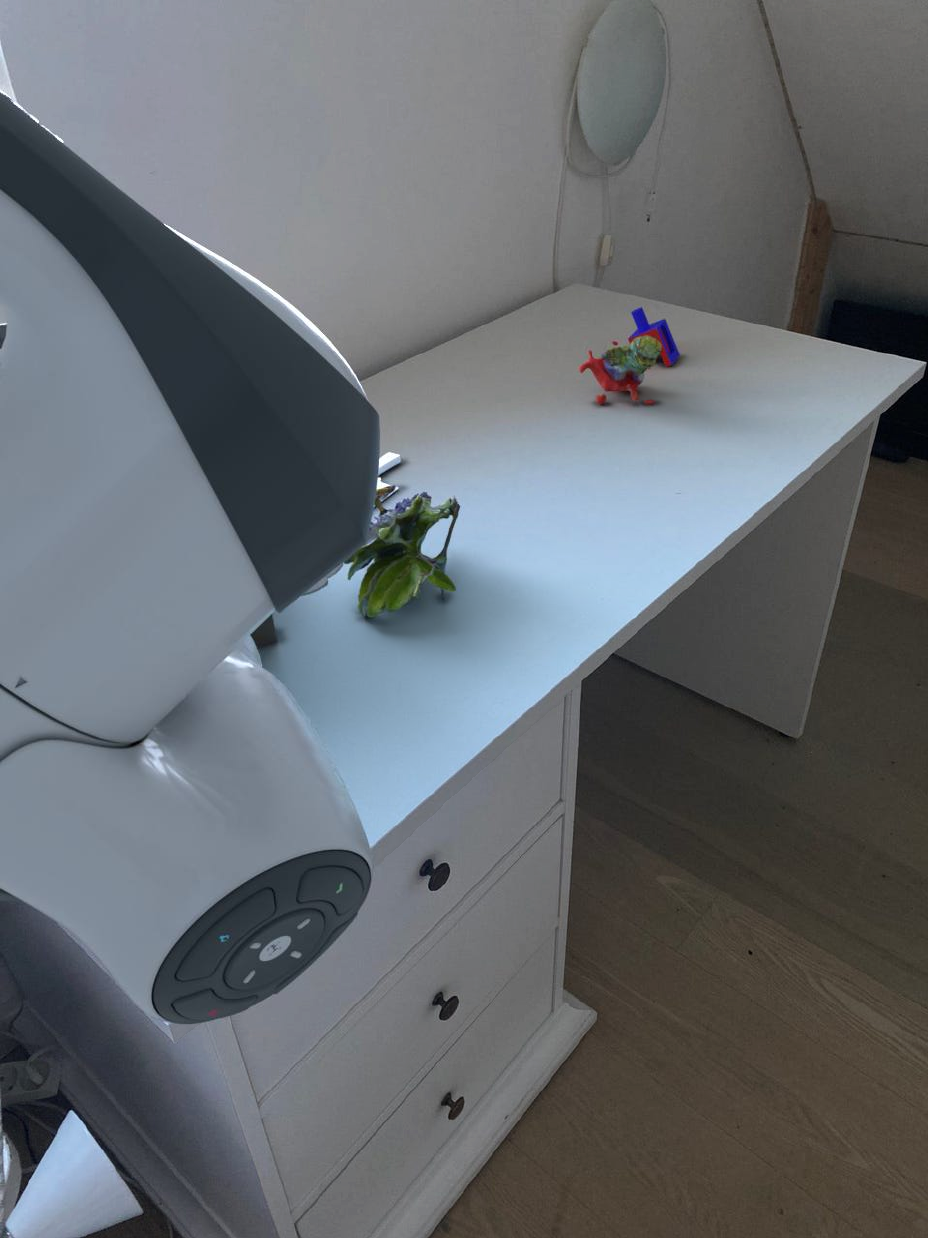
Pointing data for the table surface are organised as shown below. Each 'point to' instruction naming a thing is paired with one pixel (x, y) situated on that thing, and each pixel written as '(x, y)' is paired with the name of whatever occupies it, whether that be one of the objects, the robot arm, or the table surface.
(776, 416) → the table surface
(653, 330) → the blue and red dreidel
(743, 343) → the table surface
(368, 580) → the passion flower
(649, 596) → the table surface
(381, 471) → the white plastic strip tool
